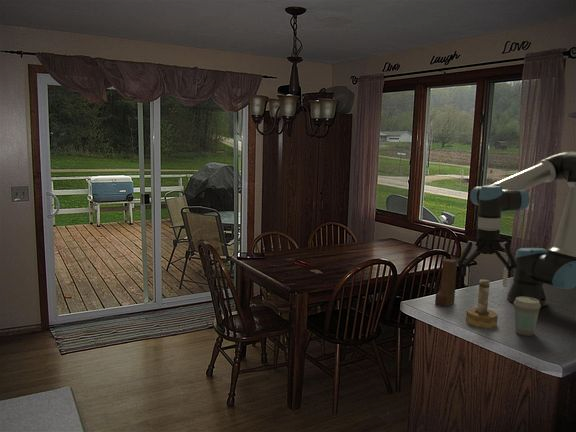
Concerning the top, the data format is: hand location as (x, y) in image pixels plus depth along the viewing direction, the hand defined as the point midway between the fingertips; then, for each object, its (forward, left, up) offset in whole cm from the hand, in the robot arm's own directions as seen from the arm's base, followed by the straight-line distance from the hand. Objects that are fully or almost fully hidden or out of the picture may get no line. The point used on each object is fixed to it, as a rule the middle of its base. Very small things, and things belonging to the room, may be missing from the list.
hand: (485, 285), depth 176 cm
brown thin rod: (0, -10, -14) cm, 18 cm away
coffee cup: (-13, +7, -14) cm, 20 cm away
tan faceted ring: (0, 0, -14) cm, 14 cm away
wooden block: (+10, -20, -14) cm, 27 cm away
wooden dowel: (0, 0, -14) cm, 14 cm away
